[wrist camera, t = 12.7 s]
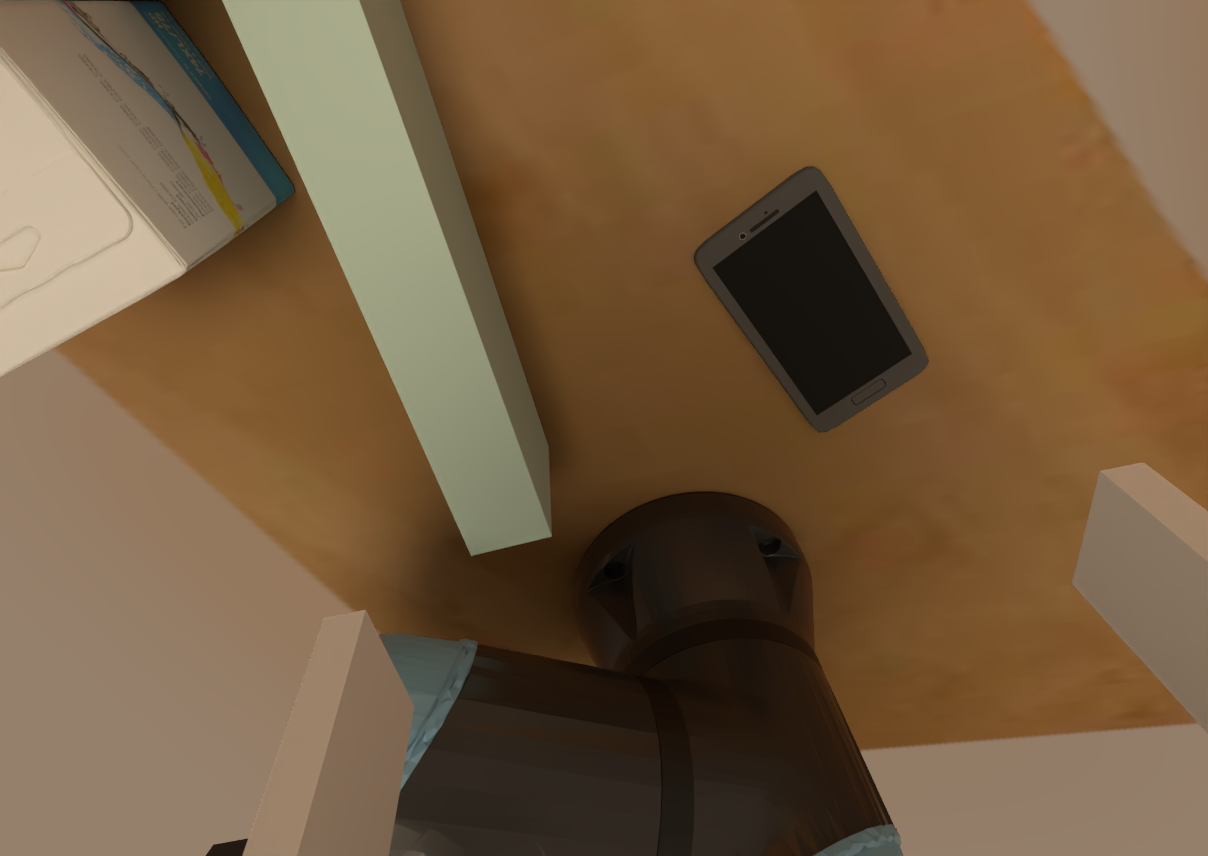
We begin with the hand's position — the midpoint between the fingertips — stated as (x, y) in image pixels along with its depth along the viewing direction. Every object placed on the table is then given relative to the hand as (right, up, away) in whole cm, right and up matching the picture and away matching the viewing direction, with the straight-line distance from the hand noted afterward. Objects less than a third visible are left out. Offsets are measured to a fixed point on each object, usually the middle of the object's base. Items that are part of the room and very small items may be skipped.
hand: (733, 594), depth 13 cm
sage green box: (-15, +11, +21) cm, 28 cm away
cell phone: (+9, +9, +25) cm, 28 cm away
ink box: (-22, +15, +18) cm, 32 cm away
